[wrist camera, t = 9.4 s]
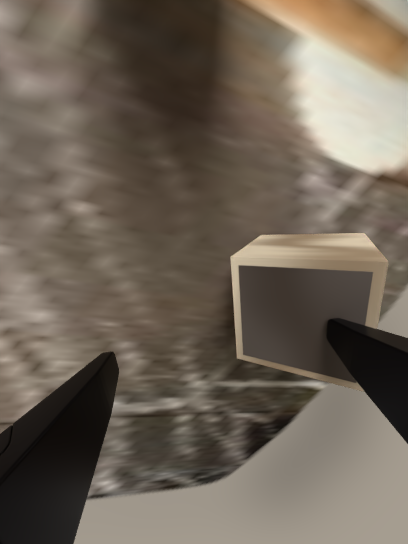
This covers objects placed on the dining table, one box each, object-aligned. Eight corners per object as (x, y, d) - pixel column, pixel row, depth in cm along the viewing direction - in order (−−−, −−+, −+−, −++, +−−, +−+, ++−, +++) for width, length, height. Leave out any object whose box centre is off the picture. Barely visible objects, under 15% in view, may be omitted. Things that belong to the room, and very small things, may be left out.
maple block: (366, 393, 10) (352, 322, 15) (388, 262, 8) (364, 233, 13) (236, 358, 12) (262, 309, 17) (230, 257, 10) (261, 235, 15)
